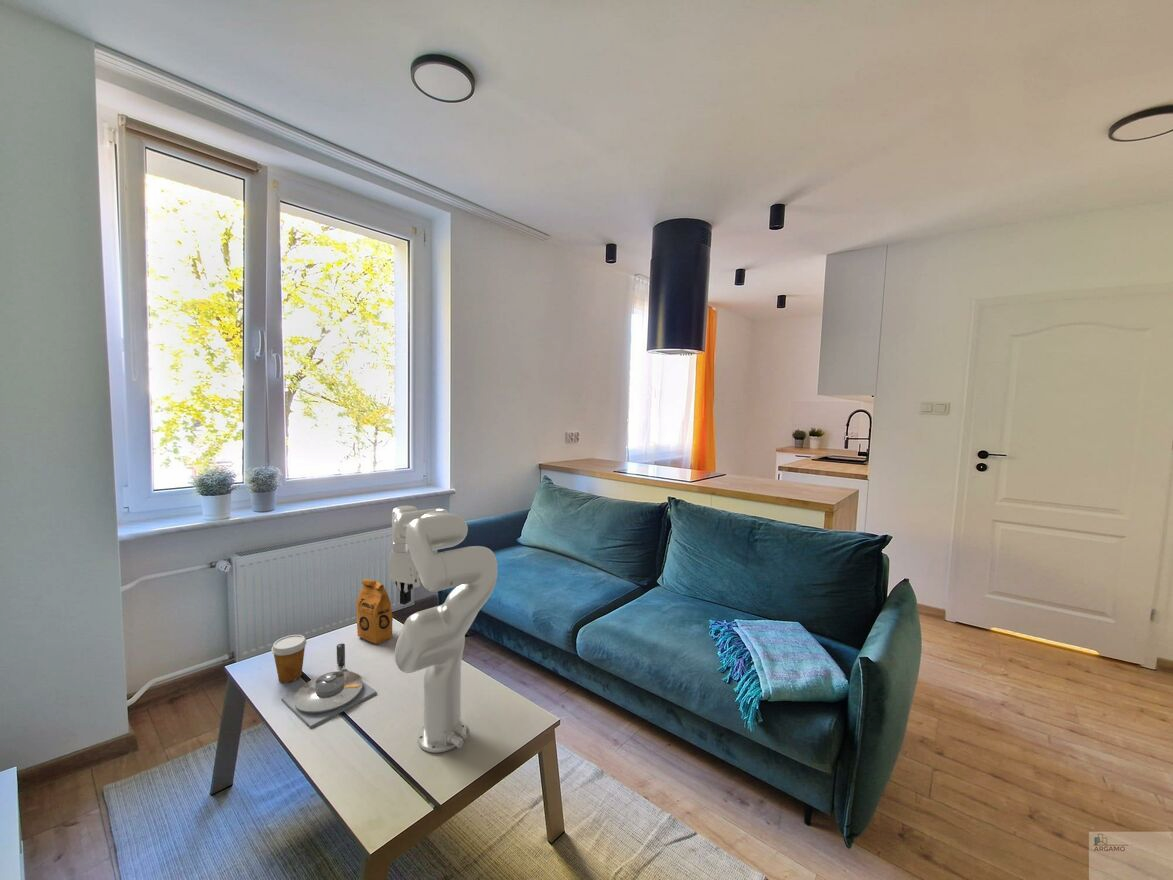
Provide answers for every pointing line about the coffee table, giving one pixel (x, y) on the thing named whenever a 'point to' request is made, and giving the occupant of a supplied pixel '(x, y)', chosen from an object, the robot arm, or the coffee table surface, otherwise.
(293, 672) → the disposable coffee cup
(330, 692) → the cover
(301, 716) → the plinth
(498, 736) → the coffee table surface
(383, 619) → the coffee package
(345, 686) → the turntable
